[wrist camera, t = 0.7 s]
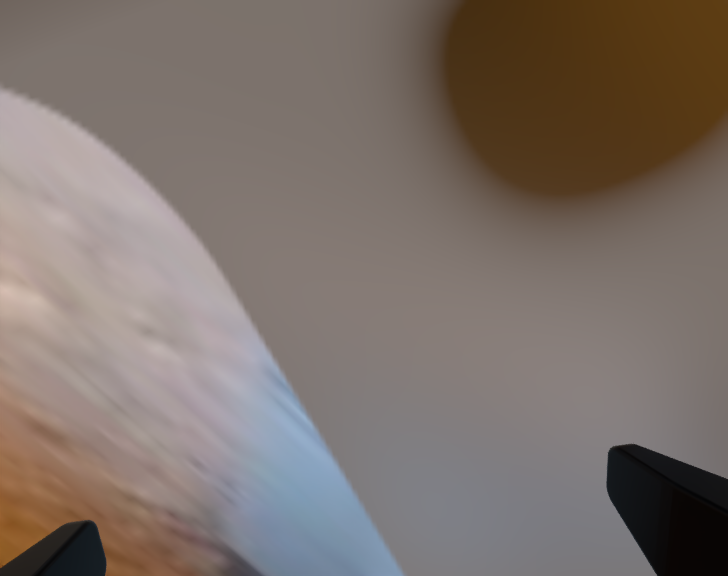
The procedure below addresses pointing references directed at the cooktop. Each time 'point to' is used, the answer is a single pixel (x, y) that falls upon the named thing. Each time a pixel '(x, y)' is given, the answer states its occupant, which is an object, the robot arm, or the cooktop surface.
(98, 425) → the cooktop surface
